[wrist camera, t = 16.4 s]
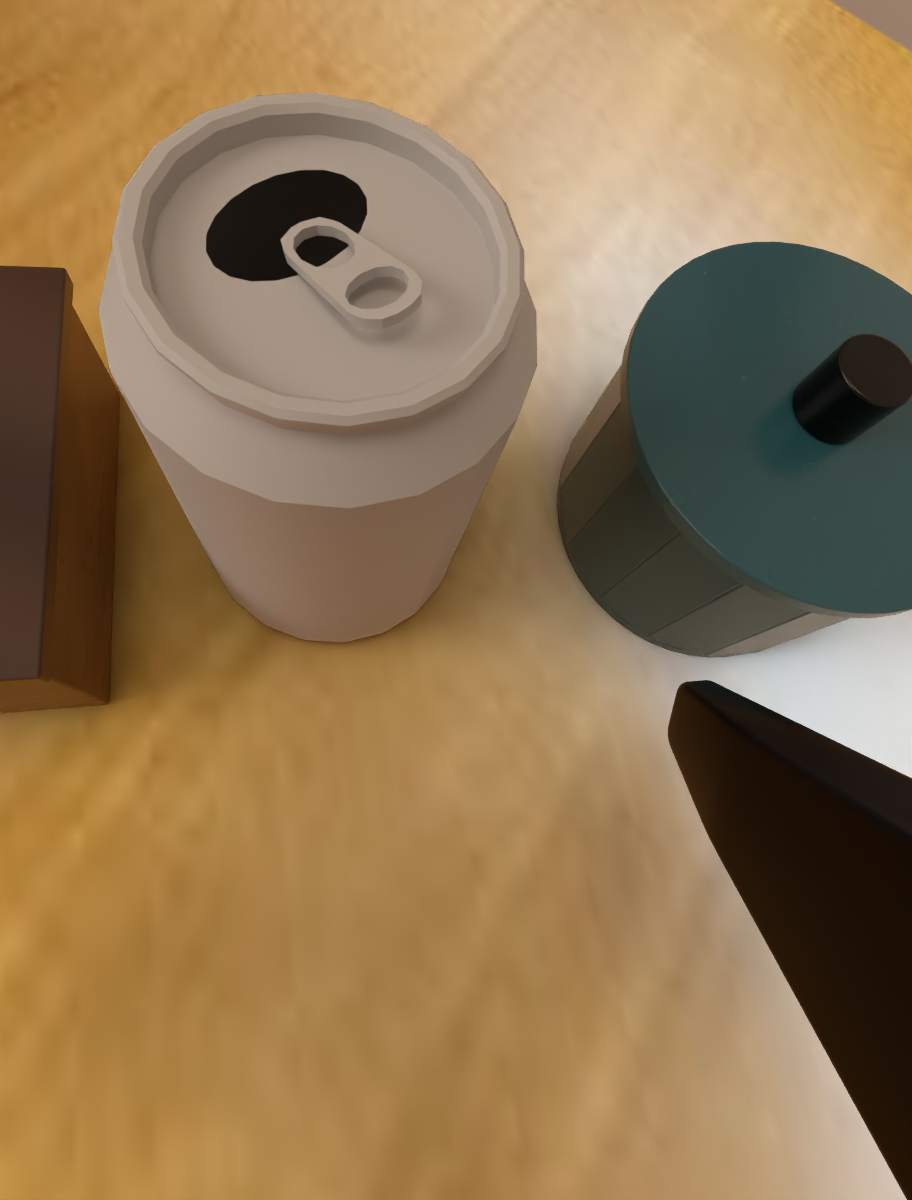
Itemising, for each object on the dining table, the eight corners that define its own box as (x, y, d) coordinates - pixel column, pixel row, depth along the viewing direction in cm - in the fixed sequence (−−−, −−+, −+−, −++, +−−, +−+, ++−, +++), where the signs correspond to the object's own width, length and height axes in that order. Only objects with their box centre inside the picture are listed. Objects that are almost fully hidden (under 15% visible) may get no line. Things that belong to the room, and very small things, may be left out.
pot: (853, 646, 23) (1032, 592, 17) (581, 668, 22) (676, 615, 15) (785, 395, 26) (919, 272, 20) (537, 394, 24) (604, 258, 18)
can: (346, 390, 23) (354, -12, 12) (496, 548, 22) (661, 282, 11) (158, 519, 21) (-60, 173, 9) (320, 700, 20) (296, 563, 9)
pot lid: (1028, 612, 18) (1153, 577, 15) (652, 639, 16) (717, 604, 13) (910, 276, 21) (997, 197, 18) (580, 263, 19) (621, 171, 16)
